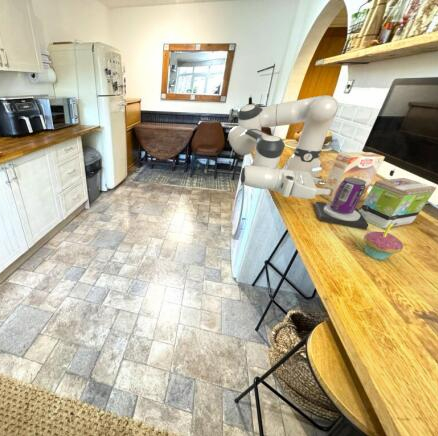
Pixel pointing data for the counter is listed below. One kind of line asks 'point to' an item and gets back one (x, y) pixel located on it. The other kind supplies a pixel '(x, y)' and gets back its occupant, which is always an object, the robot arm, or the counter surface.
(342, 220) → the scale
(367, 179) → the coffeecake box
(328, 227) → the counter surface
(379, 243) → the cupcake
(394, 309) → the counter surface
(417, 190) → the tea box
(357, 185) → the beverage can
